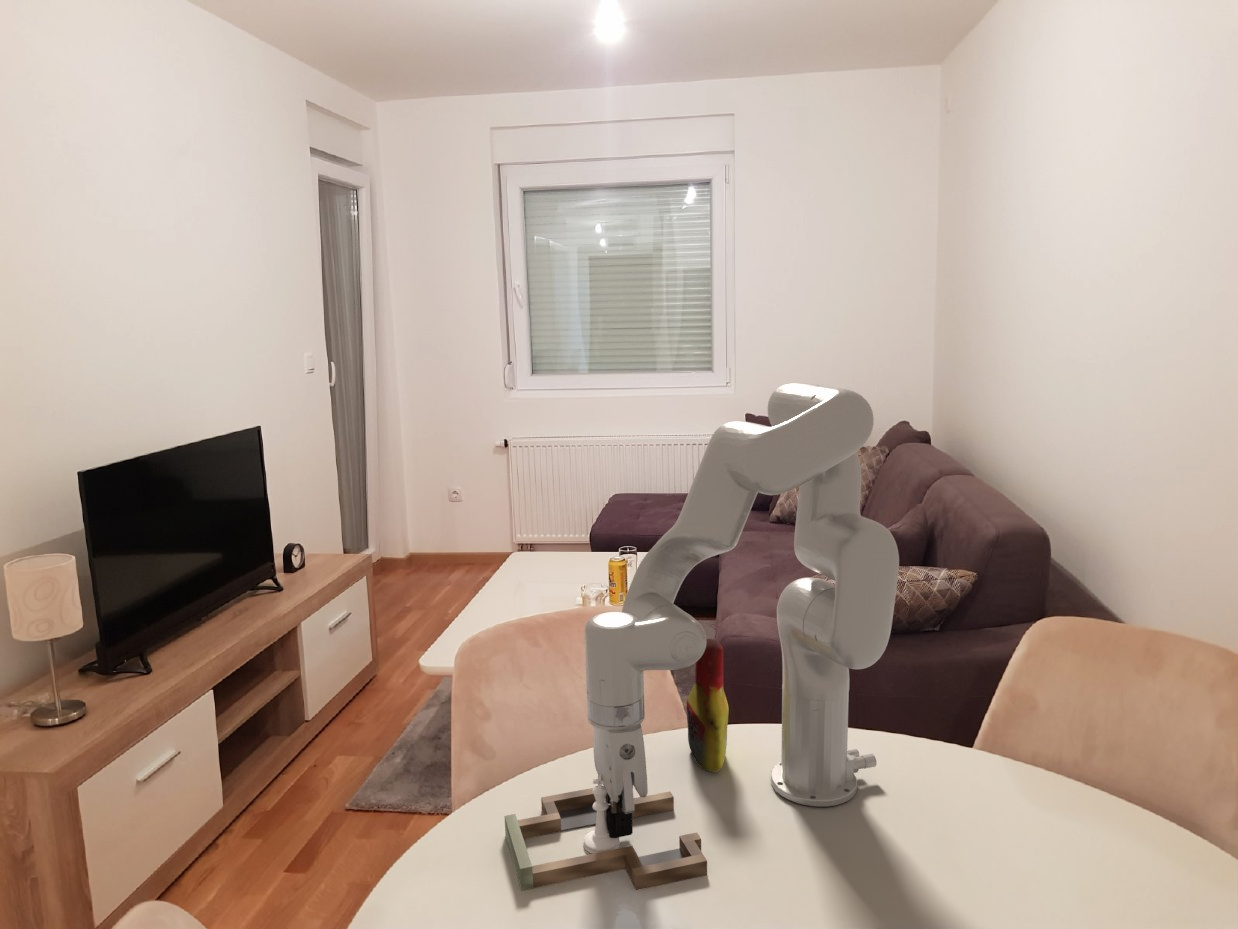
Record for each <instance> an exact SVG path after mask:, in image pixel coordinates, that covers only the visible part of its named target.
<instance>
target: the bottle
mask: <svg viewBox="0 0 1238 929" xmlns="http://www.w3.org/2000/svg"><path fill="white" fill-rule="evenodd" d="M724 667H725V666H724V648H723V645H722V644H721V643H720V642H718V641H716V640H715V639H712V638H706V648H705V651H704V653H703V655H702V656H701V658H700V659H699V660H698V661H697V662H695V670H694V672H695V677H694V684H693V685H692V688H691V690H690V692H689V693H688V696H687V700H686V722H687V740H688V746H689V750H690V752H691V754H692V757H693V759H694V761H695V762H696V763H697V765H698V766H700V767H701V768H702V769H703V770H706V771H708V772H719V771H721V769H722V768H723V765H724V763H725V759H726V752H727V745H728V742H727V741H728V726H729V724H728V722H729V704H728V700H727V696H726V693H725V691H724V690H725V689H724Z"/></svg>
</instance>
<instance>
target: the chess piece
mask: <svg viewBox="0 0 1238 929" xmlns="http://www.w3.org/2000/svg"><path fill="white" fill-rule="evenodd" d="M592 783H593V784H594V785H595V786H594V787H592V788H593V790H592V791H593V794H594V796H595V800H596V802H594V803H593V806H592V807H593V809H594V810H596V811H597V818H596V825H595V829H592V830H591V831H589V832H588V833H587V834H585V836H584V838H583V848H584V850H585V851H587V853H589V854H594V853H599V852H604V851H609V850H614V849H618V848H620V845H621V841H620V837H618V838H610V836H609V830H607V825H606V819H605V812H604V810H606V809H608V803H607V802H605V797H606V794H607V791H606V789H605V787H604V785H603V784H604V783H603V780H602V778H601V775H598V774H597V778H594V779H593V781H592Z"/></svg>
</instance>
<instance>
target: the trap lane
mask: <svg viewBox="0 0 1238 929" xmlns="http://www.w3.org/2000/svg"><path fill="white" fill-rule="evenodd" d="M593 788H594V787H592V788H585V789H579V790H575V791H573V790H572V791H569V792H564V793H558V794H552V795H547V796H542V797H541V798H540V801H541V812H542V815H538V816H533V817H526V818H522V819H518V818H517V815H516V814H515V813H513V814H507V815H504V828H505V829H504V832H505V839H506V842H507V845H508V849H509V853H510V857H511V860H512V862H513V866H514V867H513V868H514V870H515V873H516V876H517V879H518V880H517V881H518V883H519V886H520V891H526V890H531V889H536V888H540V887H545V886H550V885H554V884H559V883H564V882H569V881H573V880H578V879H582V878H588V877H592V876H596V875H601V874H605V873H606V874H607V873H610V872H611V873H612V872H616V871H620V870H625V871H626V873H627V876H628V878H629V879H630V882H631V883H632V884H631V885H632V886H633V888H634V889H635V891H640V890H645V889H648V888H654V887H659V886H662V885H668V884H672V883H676V882H680V881H681V882H682V881H685V880H691V879H695V878H700V877H705V876H707V875H708V860H707V858H706V857H705V855H704V854H703V852H702V838H701V836H700V835H699V833H698V832H693V833H688V834H683V835H679V837H678V840H679V841H678V842H679V843H678V844H679V847H678V848H675V849H670V850H665V851H659V852H655V853H650V854H647V855H640V856H639V855H638V854H637V851H636V850H635V848H634V846H633V845H630V846H629V845H628V846H624V847H619V848H618V849H614V850H609V851H604V852H599V853H594V854H592V853H589V854H586V855H585V854H584V855H580V856H575V857H570V858H565V859H561V860H556V861H550V862H545V863H542V864H541V863H540V864H536V865H535V864H534V865H532V861H531V859H530V855H529V851H528V848H527V845H526V842H525V840H526V839H529V838H535V837H540V836H546V835H551V834H555V833H562V832H565V831H571V830H576V829H581V828H582V829H583V828H587V827H592V826H596V818H597V811H596V810H594V809H593V807H592V806H593V803H594V802H596V800H595V796H594V794H593V791H592V790H593ZM674 800H675V797H674V795H673V794H672V792H671V791H666V792H661V793H654V794H649V795H647V796H646V797H640V796H639V797H634V808H635V812H632V819H634V818H638V817H642V816H643V817H644V816H648V815H653V814H654V815H655V814H659V813H664V812H669V811H674V810H675V801H674ZM605 802H606V799H605ZM608 805H610V804H608ZM604 812H605V819H606V810H604ZM524 839H525V840H524Z"/></svg>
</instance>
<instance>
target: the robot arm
mask: <svg viewBox="0 0 1238 929" xmlns="http://www.w3.org/2000/svg"><path fill="white" fill-rule="evenodd" d="M767 417H768V421H769V423H770V425H771V426H768V425H765V424H760V423H755V422H750V421H742V420H741V421H739V420H735V421H729V422H726V423H722V425H720V426H719V427H718V428H717V429H716V430H715V431H714V432H713V434H712V435H711V437H710V440H709V442H708V444H707V446H706V449H705V451H704V454H703V456H702V459H701V461H700V462H699V463H700V464H699V466H698V469H697V471H696V474H695V476H694V478H693V481H692V483H691V486H690V488H689V491H688V494H687V495H686V499H684V500H685V501H684V503H683V505H682V509H681V510H680V513H679V515H678V518H677V520H676V521H675V523H674V524H673V526H672V527H670V529H668V531H666V532H665V533H664V534H663V535H662V536H661V537H660V538H659V539H658V540H657V541H656V543H655V544H654V545H653V546H652V548H650V549H649V550H648V551H647V553H646V554H645V555H644V557H643V559H642V560H641V561H640V563H639V565H638V567H637V568H636V570H635V573H634V576H633V577H632V580H631V583H630V586H629V587H628V591H627V593H626V596H625V598H624V601H623V605H622V609H621V611H608V612H601V613H599V614H598V613H597V614H596V615H593V616H592V617H590V618H589V620H587V622H586V624H585V626H584V627H585V628H584V654H585V655H584V657H585V661H584V662H585V681H586V684H585V686H586V708H587V709H586V713H587V714H586V715H587V721H588V723H589V724H590V725H591V726H592V727H593V732H592V733H593V736H592V738H593V758H594V759H593V760H594V761H593V762H594V767H595V771H596V773H597V776H598V775H601V778H602V780H603V783H604V784H602V786H604V787H605V789H606V791H607V794H606V797H605V799H606V802H607V803H608V804H610V805H608V809H606V825H607V830H609V836H610V838H618V837H619V838H622V837H627V836H632V835H633V829H634V828H633V827H634V826H633V818H632V812H635V808H634V798H635V797H634V789H635V790H636V792H637V794H638V795H639V797H646V796H648V792H649V790H648V789H649V788H648V775H647V760H646V749H645V741H644V734H643V729H642V723H643V722H644V721H645V718H646V716H645V681H644V680H645V679H644V678H645V676H644V672H645V671H677V670H682V669H686V668H688V667H689V668H690V667H691V666H693V665H694V664H696V662H697V661H698V660H699V659H700V658H701V656H702V655H703V653H704V651H705V648H706V639H707V636H706V635H707V634H706V632H705V630H704V628H703V626H702V625H701V623H700V622H699V621H698V620H697V619H695V618H694V617H693V616H692V615H691V614H689V613H687V612H686V611H684V610H683V609H682V608H680V607H679V606H678V605H676V604H675V603H674V602H675V600H676V597H677V595H678V592H679V591H680V588H681V586H682V584H683V582H684V580H685V579H686V577H687V576H688V575H689V573H690V572H691V571H692V570H693V569H694V567H695V566H697V565H698V564H700V563H701V562H703V561H705V560H707V559H709V558H712V557H716V556H718V555H722V554H725V553H727V552H730V551H732V550H733V549H734V548H735V547H736V546H737V545H738V543H739V540H740V539H741V538H740V537H741V535H742V533H743V530H744V528H745V525H746V523H747V520H748V518H749V515H750V513H751V510H752V507H753V505H754V503H755V500H756V498H757V495H758V494H763V495H767V496H775V495H776V496H778V495H783V494H784V493H787V492H790V491H792V490H795V489H797V488H798V498H797V499H798V500H797V508H796V516H795V517H796V518H795V519H796V520H795V524H794V525H795V526H794V528H795V529H794V536H793V537H794V539H793V550H794V554H795V556H796V559H797V560H798V561H799V562H800V563H801V565H802V566H805V567H806V568H808V569H809V570H811V571H813V572H815V573H816V574H820V575H822V576H823V577H826V578H827V579H828V578H829V579H830V580H833V581H834V583H831V582H829V581H827V580H824V579H821V578H816V577H811V576H810V577H801V578H798V579H795V580H793V581H792V582H790V583H789V584H788V585H786V587H784V589H783V590H782V592H781V593H780V596H779V599H778V601H777V605H776V623H777V629H778V636H779V640H780V641H779V642H780V647H781V658H782V659H781V660H782V683H781V684H782V685H781V690H782V692H781V695H782V697H781V761H779V762H778V763H777V764H775V765H774V767H772V769H771V771H770V772H771V773H770V784H771V786H772V788H773V789H774V791H775V792H776V793H778V794H779V796H781V797H782V798H784V799H787V800H788V801H790V802H793V803H796V804H800V805H803V806H808V807H818V808H819V807H820V808H821V807H824V808H826V807H834V806H839V805H841V804H844V803H847V802H848V801H850V800H852V798H853V797H854V796H855V795H856V794H857V790H858V779H857V777H856V774H855V773H858V772H859V771H860V770H861V769H862V770H863V769H865V770H866V769H870V768H871V769H872V768H875V767H877V763H878V762H877V759H876V756H875V755H874V753H868V754H862V755H860V753H859V750H858V749H857V748H855V749H854V748H853V749H849V750H848V739H849V738H848V737H849V736H848V735H849V734H848V733H849V731H848V730H849V693H850V692H849V691H850V669H852V670H864V669H867V668H869V667H871V666H873V665H874V664H876V662H878V660H880V659H881V657H882V656H883V654H884V653H885V651H886V649H887V646H888V643H889V640H890V637H891V631H892V626H893V620H894V619H893V618H894V613H895V612H894V611H895V603H896V594H897V588H898V587H897V585H898V578H899V568H900V554H899V550H898V544H897V542H896V539H895V538H894V536H893V534H892V532H891V531H890V530H889V529H888V528H887V527H886V526H885V525H883V524H881V523H880V522H878V521H875V520H873V519H871V518H868V517H865V516H863V515H861V494H862V493H861V492H862V467H861V466H862V465H861V461H860V457H859V453H858V451H859V450H861V448H863V446H864V445H866V443H867V442H868V439H869V438H870V436H871V435H872V431H873V428H874V423H875V422H874V420H875V418H874V412H873V409H872V407H871V404H870V403H869V401H868V400H867V399H866V398H865V397H863V395H861V394H860V393H858V392H855V391H853V390H850V389H846V388H840V387H831V386H824V385H819V384H813V383H812V384H811V383H803V382H793V383H792V382H791V383H788V384H787V383H786V384H783V385H781V386H779V387H778V388H776V389H774V391H773V392H772V393H771V394H770V397H769V400H768V402H767Z"/></svg>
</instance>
